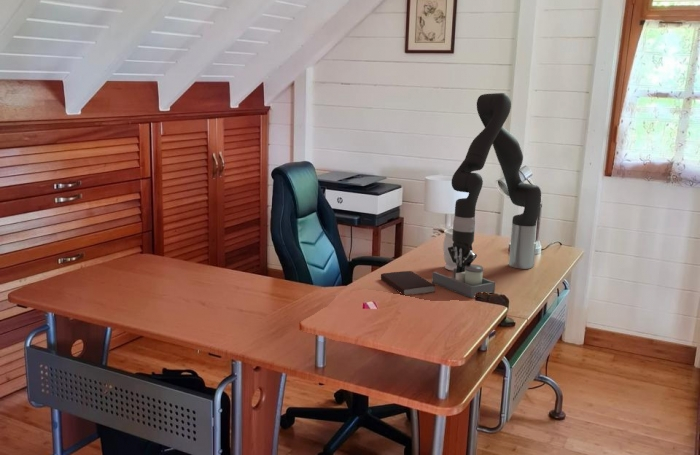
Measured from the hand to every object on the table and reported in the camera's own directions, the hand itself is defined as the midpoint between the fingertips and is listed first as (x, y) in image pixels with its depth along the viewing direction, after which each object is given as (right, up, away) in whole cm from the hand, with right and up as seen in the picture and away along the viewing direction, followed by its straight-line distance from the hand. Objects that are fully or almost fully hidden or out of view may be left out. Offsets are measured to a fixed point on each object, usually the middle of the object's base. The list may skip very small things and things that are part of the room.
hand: (460, 275), depth 242 cm
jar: (+2, +1, +24) cm, 24 cm away
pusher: (+1, -3, -1) cm, 4 cm away
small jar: (+3, -4, -4) cm, 7 cm away
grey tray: (+1, -4, 0) cm, 4 cm away
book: (-19, -4, 0) cm, 19 cm away
